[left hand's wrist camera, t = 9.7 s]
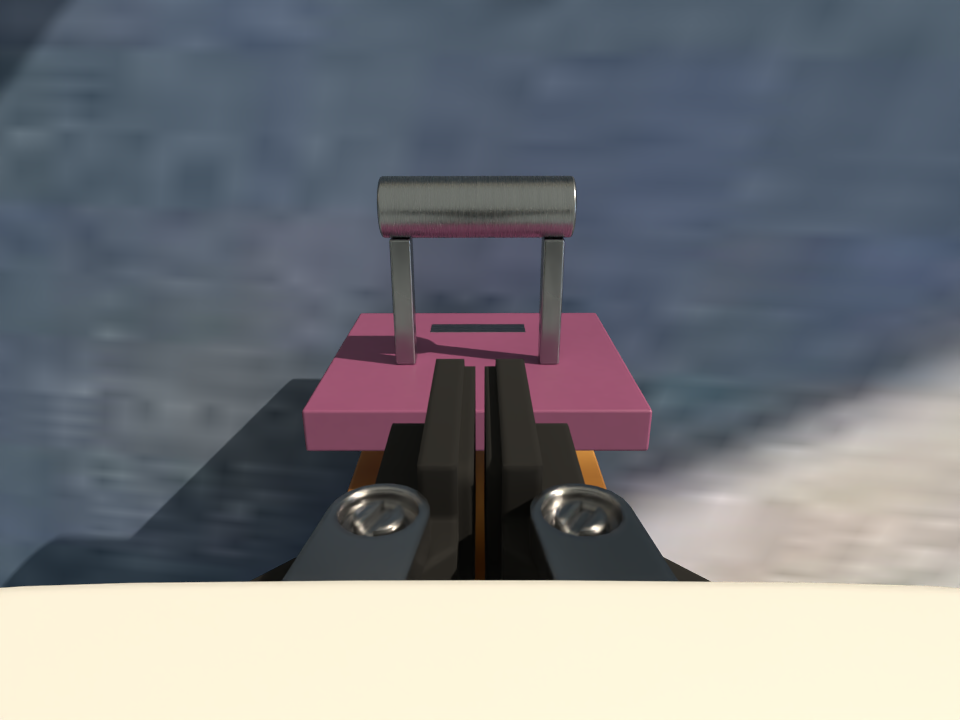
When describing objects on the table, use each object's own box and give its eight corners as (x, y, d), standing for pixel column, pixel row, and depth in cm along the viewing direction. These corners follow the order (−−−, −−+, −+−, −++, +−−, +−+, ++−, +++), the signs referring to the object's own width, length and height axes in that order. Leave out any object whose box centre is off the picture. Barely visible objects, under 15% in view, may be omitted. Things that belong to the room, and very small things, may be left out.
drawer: (349, 162, 22) (275, 190, 14) (606, 162, 22) (676, 189, 14) (386, 670, 30) (353, 864, 23) (571, 670, 30) (603, 865, 23)
